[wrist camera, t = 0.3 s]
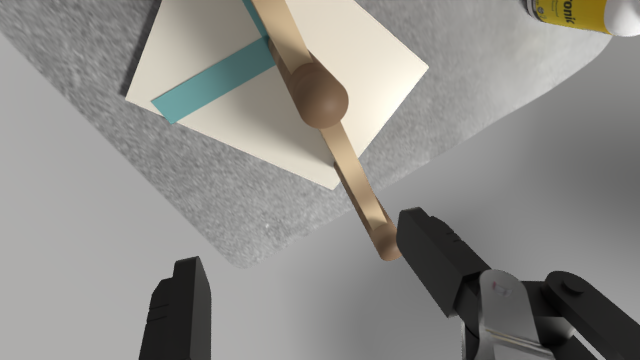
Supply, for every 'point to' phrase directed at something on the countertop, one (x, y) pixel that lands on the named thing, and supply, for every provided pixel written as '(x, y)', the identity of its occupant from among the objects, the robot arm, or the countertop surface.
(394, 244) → the swing panel
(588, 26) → the supplement bottle
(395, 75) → the mat
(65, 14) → the countertop surface
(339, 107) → the fixed panel
